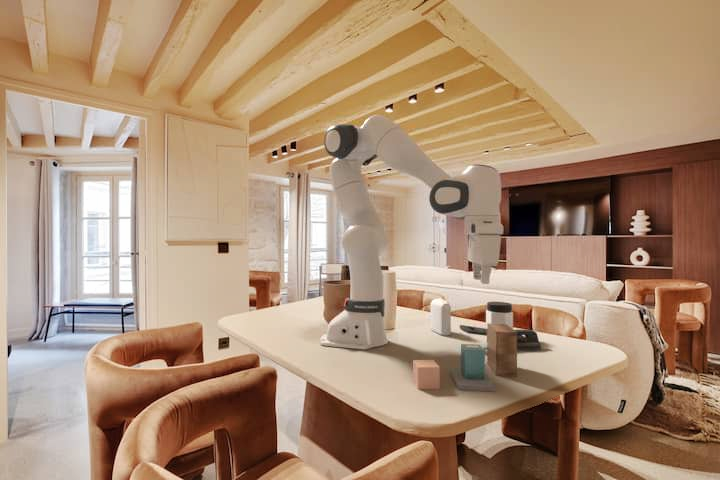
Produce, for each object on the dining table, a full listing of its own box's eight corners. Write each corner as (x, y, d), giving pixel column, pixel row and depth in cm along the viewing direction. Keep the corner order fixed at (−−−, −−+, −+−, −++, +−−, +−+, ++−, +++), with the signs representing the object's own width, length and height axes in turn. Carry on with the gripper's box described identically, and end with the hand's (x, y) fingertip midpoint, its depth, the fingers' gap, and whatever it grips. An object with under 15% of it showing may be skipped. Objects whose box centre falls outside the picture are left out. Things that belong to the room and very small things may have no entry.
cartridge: (465, 379, 84) (465, 348, 84) (460, 372, 89) (460, 343, 89) (484, 379, 84) (484, 349, 84) (479, 372, 88) (479, 343, 88)
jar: (516, 340, 122) (516, 305, 122) (493, 340, 121) (493, 305, 121) (504, 334, 131) (504, 301, 131) (482, 334, 130) (483, 301, 130)
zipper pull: (456, 324, 117) (529, 323, 120) (456, 344, 117) (529, 342, 120) (467, 330, 108) (545, 329, 111) (467, 352, 108) (545, 351, 111)
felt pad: (457, 389, 81) (457, 385, 81) (450, 370, 93) (450, 366, 93) (494, 391, 80) (494, 386, 80) (481, 372, 92) (482, 368, 92)
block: (417, 389, 81) (417, 367, 81) (412, 381, 86) (412, 360, 86) (439, 389, 81) (439, 367, 81) (433, 380, 86) (433, 359, 86)
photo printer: (428, 329, 137) (429, 297, 137) (439, 329, 138) (439, 296, 138) (441, 336, 127) (441, 301, 127) (452, 335, 128) (452, 301, 128)
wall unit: (496, 375, 89) (496, 331, 89) (486, 363, 99) (486, 323, 99) (517, 376, 89) (517, 332, 89) (506, 363, 98) (506, 323, 98)
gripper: (463, 228, 103) (461, 276, 103) (477, 226, 82) (475, 285, 82) (485, 229, 102) (484, 277, 102) (505, 226, 82) (504, 286, 82)
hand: (480, 281), depth 92 cm, fingers open, 8 cm apart
